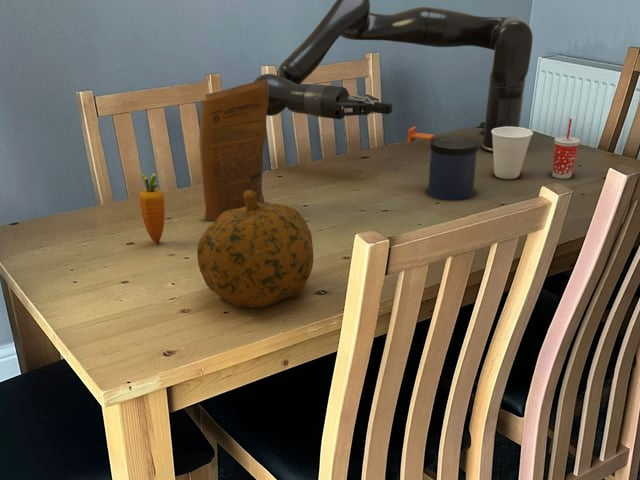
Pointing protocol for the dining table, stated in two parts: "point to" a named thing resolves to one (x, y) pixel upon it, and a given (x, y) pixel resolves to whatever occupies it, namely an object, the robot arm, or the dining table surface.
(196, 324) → the dining table surface
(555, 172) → the beverage cup
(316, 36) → the robot arm
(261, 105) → the pancake mix bag
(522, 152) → the cup
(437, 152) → the blue lidded canister
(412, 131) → the slider
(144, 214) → the carrot
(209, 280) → the decorative pumpkin
